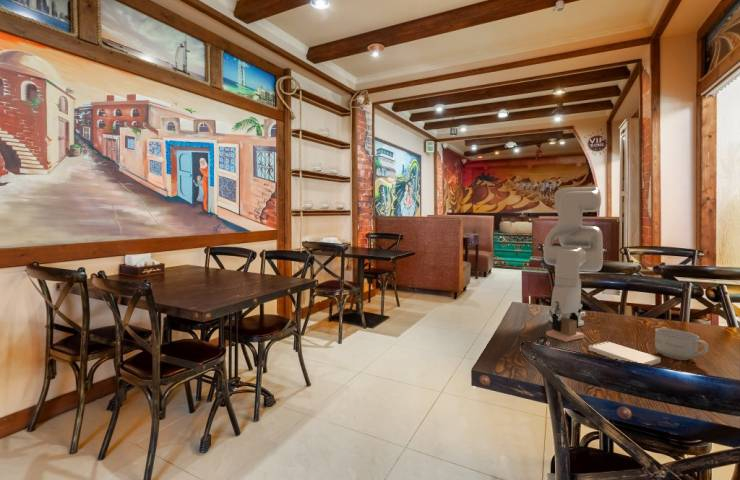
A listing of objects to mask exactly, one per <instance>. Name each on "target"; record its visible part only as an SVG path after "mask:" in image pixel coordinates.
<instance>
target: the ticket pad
mask: <svg viewBox="0 0 740 480" xmlns="http://www.w3.org/2000/svg"><path fill="white" fill-rule="evenodd" d="M588 351H590V352H592V351H593V353H595V352H596V354H598V355H601V356H605V357H607V358H610V359H613V360H615V359H618V360H625V361H630V362H637V363H642V364H649V365H651V366H653V365H654V366H655V365H656V364H657V365H658V364H660V363H661V361H662V360H661V359H662V357H661V356H657V355H654V354H650V353H646V352H643V351H640V350H637V349H634V348H630V347H627V346H625V345H624V346H623V345H620V344H617V343H614V342H611V341H604V342H598V343H595V344H589V345H588ZM618 360H617V361H618Z"/></svg>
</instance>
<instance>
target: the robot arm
mask: <svg viewBox="0 0 740 480" xmlns="http://www.w3.org/2000/svg"><path fill="white" fill-rule="evenodd" d="M601 205H602V195H601V190H600V189H599V187H597V186H577V187H572V186H571V187H564V188H560V189H557V190H556V191H555V193H554V207H555V210H556V213H557V217H558V222H557V224H556V225H554V227H552V228H551V229H550V230H549V232H547V234H546V236H545V238H544V243H543V244H544V246H543V261H544V263H545V264H546V265H548V266H549V265H550V266H554V274H555V275H554V281H555V282H554V286H553V290H552V294H551V303H550V307H549V308H548V312H549V314H550V317H549V321H550V322H551V323H552V329H551V330H556V331H559V332H560V331H561V320H560V319H561V317H565V318H568V319H572V320H576V321H577V327H576V329H578V328H579V327H582V326H584V325H585V321H584V320H583V319H582V317H586V316H587V313H586V311H582V308H583V304H582V303H581V299H582V298H581V295H582V281H581V279H580V272H589V273H590V272H592V273H595V272H599V271H601V270H602V268H603V264H604V245H603V244H604V240H603V239H604V236H603V232H602V230H601V229H600V228H599V227H598V226H593V225H592V226H591V225H583V213H585V212H586V213H589V212H591V213H592V212H593V213H594V212H598V211H599V210H600V208H601ZM557 239H558V242H559V245H553V243H554V242H555V241H556V240H557Z"/></svg>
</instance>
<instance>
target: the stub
mask: <svg viewBox="0 0 740 480" xmlns="http://www.w3.org/2000/svg"><path fill="white" fill-rule="evenodd" d="M560 320H561V331H560V332H559V331H556V330H553V329H551V330H546V332H545V335H546V336H548V337H550V338H554V339H557V340H559V341H562V342H565V343H567V342H571V341H575V340H580V339H584V338H585V333H582V332H579V331H577V328H576V327H577V321H576V320H572V319H568V318H565V317H561V319H560Z"/></svg>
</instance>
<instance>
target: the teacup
mask: <svg viewBox="0 0 740 480" xmlns="http://www.w3.org/2000/svg"><path fill="white" fill-rule="evenodd" d="M654 330H655V333H654V335H655V336H654V346H655V348H656V350H657V351H658V352H659V354H661V355H662V356H664V357H667V358H670V359H674V360H679V361H688V360H690V359H693V358H697V357H698V356H703V355H705V354H707V353H708V352H709V351H710V350H709V349H710V348H709V347H710V346H709V344H708V343H707V342H706V341H704V340H703V339H702V340H701V339H700V336H699V335H697V334H696V333H695V334H694V333H692V332H689V331H683V330H680V329H673V328H662V327H661V328H655V329H654ZM699 344H701V345H702V348H703V349H702V350H701V351H699Z"/></svg>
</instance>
